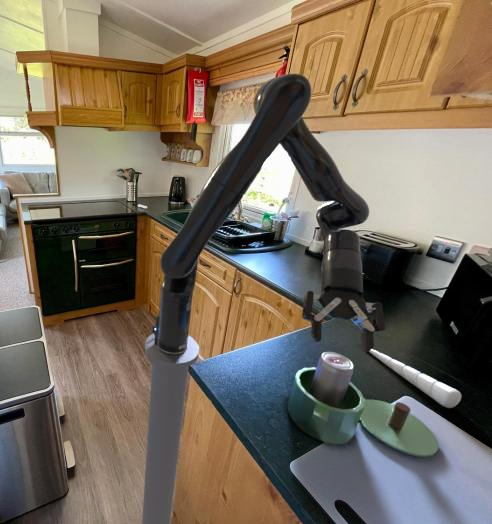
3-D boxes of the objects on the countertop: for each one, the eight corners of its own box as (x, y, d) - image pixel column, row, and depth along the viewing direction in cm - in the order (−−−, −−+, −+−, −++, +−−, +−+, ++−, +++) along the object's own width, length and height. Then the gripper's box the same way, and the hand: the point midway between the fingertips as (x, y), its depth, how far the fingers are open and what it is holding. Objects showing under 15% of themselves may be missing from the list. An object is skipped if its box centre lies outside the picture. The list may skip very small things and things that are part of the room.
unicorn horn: (373, 346, 90) (378, 333, 89) (459, 408, 68) (467, 393, 67) (359, 347, 90) (364, 334, 88) (441, 410, 68) (450, 394, 66)
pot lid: (352, 430, 61) (361, 408, 59) (358, 394, 71) (365, 374, 69) (440, 473, 53) (453, 450, 51) (432, 425, 63) (443, 404, 61)
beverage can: (299, 404, 67) (315, 350, 62) (325, 405, 67) (343, 351, 62) (312, 426, 61) (331, 369, 56) (340, 428, 61) (362, 371, 56)
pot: (277, 428, 61) (285, 396, 58) (297, 382, 75) (305, 354, 72) (347, 467, 54) (361, 434, 51) (356, 408, 67) (367, 379, 64)
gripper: (310, 261, 63) (307, 333, 57) (388, 272, 59) (394, 351, 53) (301, 275, 70) (297, 341, 64) (370, 285, 65) (374, 357, 59)
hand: (341, 345), depth 58 cm, fingers open, 8 cm apart
